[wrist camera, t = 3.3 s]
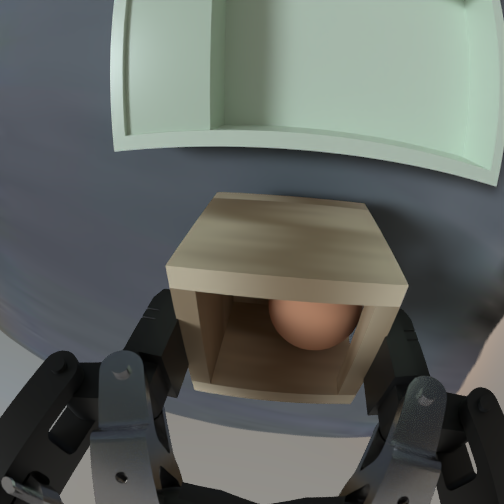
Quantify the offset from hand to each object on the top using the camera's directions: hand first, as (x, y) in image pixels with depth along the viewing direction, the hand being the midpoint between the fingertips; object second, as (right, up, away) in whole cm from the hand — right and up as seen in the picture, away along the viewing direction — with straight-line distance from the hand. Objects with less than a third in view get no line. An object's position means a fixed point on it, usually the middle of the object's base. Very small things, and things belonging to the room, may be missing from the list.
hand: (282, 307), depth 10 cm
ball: (+1, 0, +1) cm, 1 cm away
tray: (+2, +11, -1) cm, 11 cm away
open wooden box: (0, +2, +3) cm, 3 cm away
